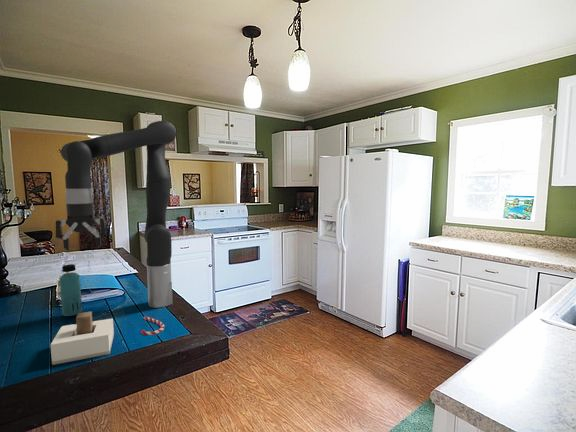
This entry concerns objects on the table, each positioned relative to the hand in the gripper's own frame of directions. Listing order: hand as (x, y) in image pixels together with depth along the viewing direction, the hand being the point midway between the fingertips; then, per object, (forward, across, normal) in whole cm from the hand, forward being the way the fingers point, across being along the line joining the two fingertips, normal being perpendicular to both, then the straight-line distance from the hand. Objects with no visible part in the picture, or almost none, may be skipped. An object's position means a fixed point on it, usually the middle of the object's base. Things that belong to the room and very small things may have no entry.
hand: (83, 249), depth 106 cm
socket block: (+28, -2, +17) cm, 33 cm away
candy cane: (+29, -20, +8) cm, 36 cm away
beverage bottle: (+28, +7, -12) cm, 31 cm away
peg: (+27, -2, +17) cm, 32 cm away
